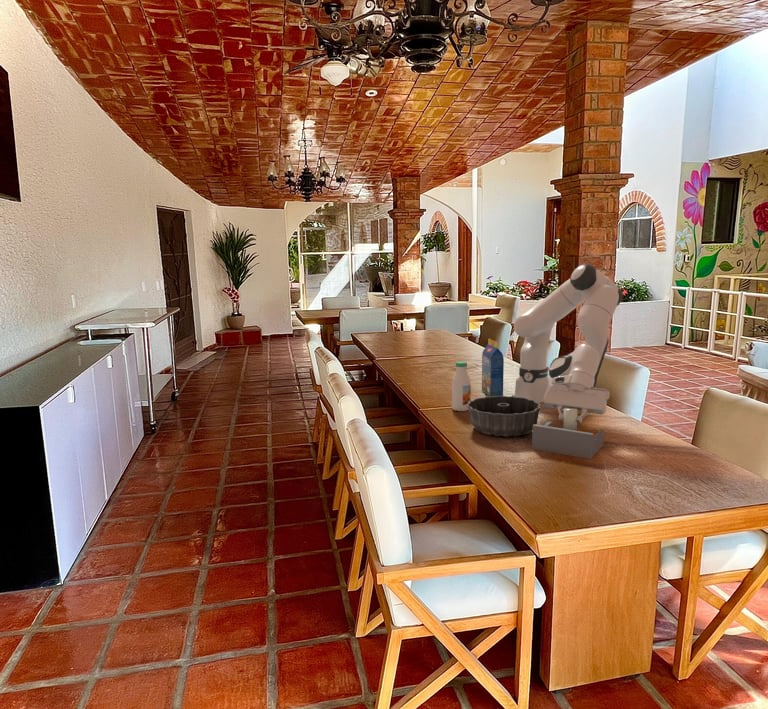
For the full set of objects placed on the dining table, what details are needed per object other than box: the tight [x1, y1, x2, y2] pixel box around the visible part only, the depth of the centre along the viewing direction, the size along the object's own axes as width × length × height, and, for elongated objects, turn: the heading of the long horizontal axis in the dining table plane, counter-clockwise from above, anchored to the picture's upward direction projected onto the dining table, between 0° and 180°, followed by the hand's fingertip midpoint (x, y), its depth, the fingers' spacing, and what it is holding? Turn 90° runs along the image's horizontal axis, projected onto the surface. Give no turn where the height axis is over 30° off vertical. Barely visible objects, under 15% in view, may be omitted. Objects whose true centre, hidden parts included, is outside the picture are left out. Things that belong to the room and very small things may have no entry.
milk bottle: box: [451, 360, 472, 412], centre depth 233 cm, size 8×8×20 cm
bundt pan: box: [467, 395, 542, 438], centre depth 206 cm, size 26×26×10 cm
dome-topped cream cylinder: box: [562, 407, 579, 431], centre depth 187 cm, size 4×4×8 cm
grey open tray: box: [531, 421, 605, 460], centre depth 187 cm, size 16×19×8 cm
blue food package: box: [481, 338, 505, 397], centre depth 257 cm, size 6×12×25 cm, turn 9°
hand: (569, 420), depth 186 cm, fingers closed on dome-topped cream cylinder, 4 cm apart
